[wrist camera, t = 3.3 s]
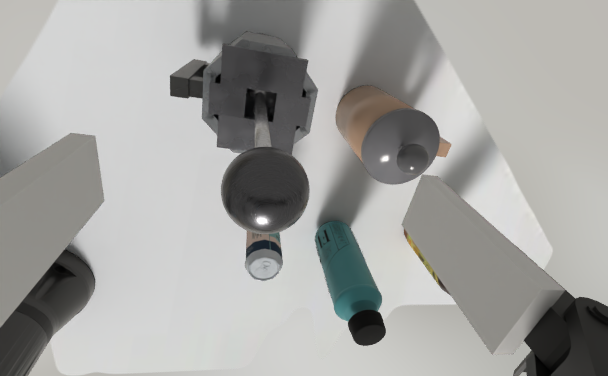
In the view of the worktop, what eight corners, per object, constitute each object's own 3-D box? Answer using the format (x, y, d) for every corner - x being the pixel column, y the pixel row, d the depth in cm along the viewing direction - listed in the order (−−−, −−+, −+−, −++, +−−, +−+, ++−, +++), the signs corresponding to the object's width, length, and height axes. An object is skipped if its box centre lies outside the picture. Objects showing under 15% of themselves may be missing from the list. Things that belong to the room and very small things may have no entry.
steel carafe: (196, 102, 39) (165, 147, 25) (198, 20, 34) (161, 23, 21) (288, 115, 41) (305, 163, 28) (300, 41, 37) (327, 55, 24)
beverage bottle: (319, 211, 50) (354, 315, 32) (356, 218, 51) (407, 320, 34) (307, 242, 52) (333, 353, 35) (342, 247, 54) (383, 356, 37)
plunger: (221, 123, 29) (174, 276, 12) (226, 50, 26) (172, 116, 9) (288, 132, 30) (331, 281, 13) (299, 64, 27) (374, 143, 10)
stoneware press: (329, 139, 44) (366, 199, 29) (342, 79, 40) (393, 116, 25) (397, 148, 46) (463, 208, 31) (416, 93, 42) (501, 133, 28)
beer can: (242, 222, 49) (239, 278, 38) (253, 198, 47) (252, 250, 36) (270, 230, 50) (274, 286, 40) (281, 207, 48) (289, 260, 38)
